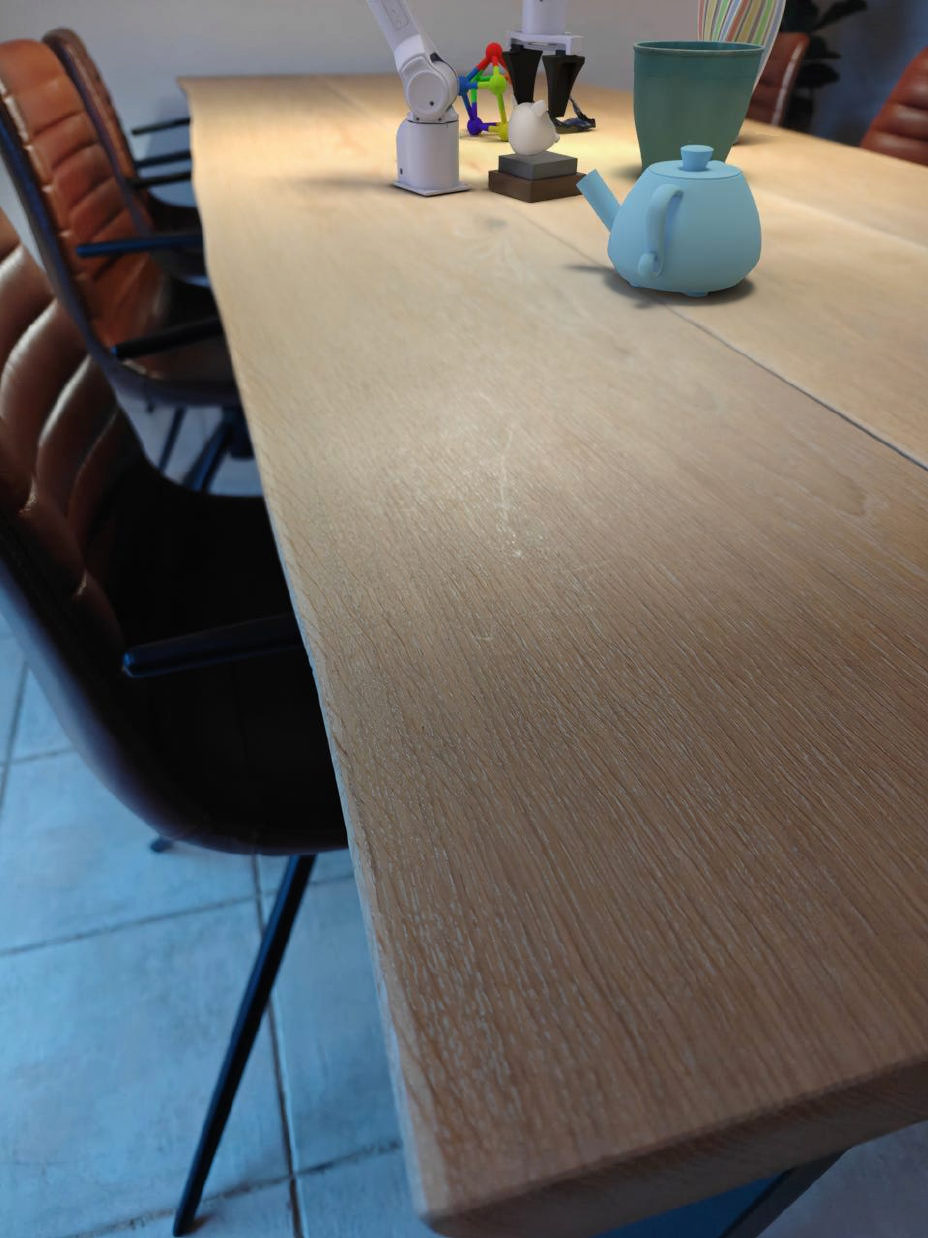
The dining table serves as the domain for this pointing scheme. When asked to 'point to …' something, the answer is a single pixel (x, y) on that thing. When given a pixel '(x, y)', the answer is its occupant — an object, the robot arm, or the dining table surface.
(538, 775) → the dining table surface
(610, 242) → the teapot
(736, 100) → the flower pot
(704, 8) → the vase
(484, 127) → the educational toy
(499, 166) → the stack
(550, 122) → the figurine
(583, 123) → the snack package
